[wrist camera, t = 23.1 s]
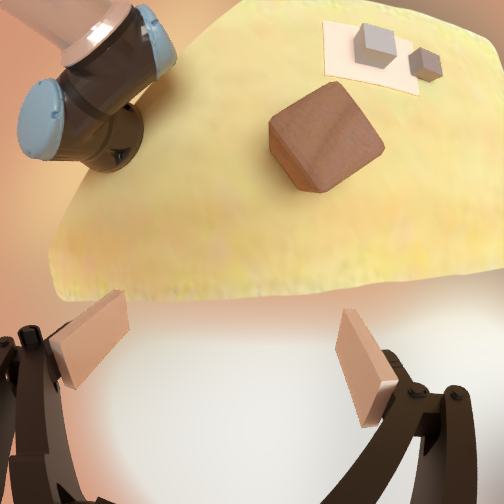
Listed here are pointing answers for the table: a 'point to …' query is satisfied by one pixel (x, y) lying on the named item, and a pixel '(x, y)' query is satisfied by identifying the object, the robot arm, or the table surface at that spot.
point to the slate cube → (374, 46)
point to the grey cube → (425, 65)
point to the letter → (343, 65)
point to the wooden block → (323, 139)
